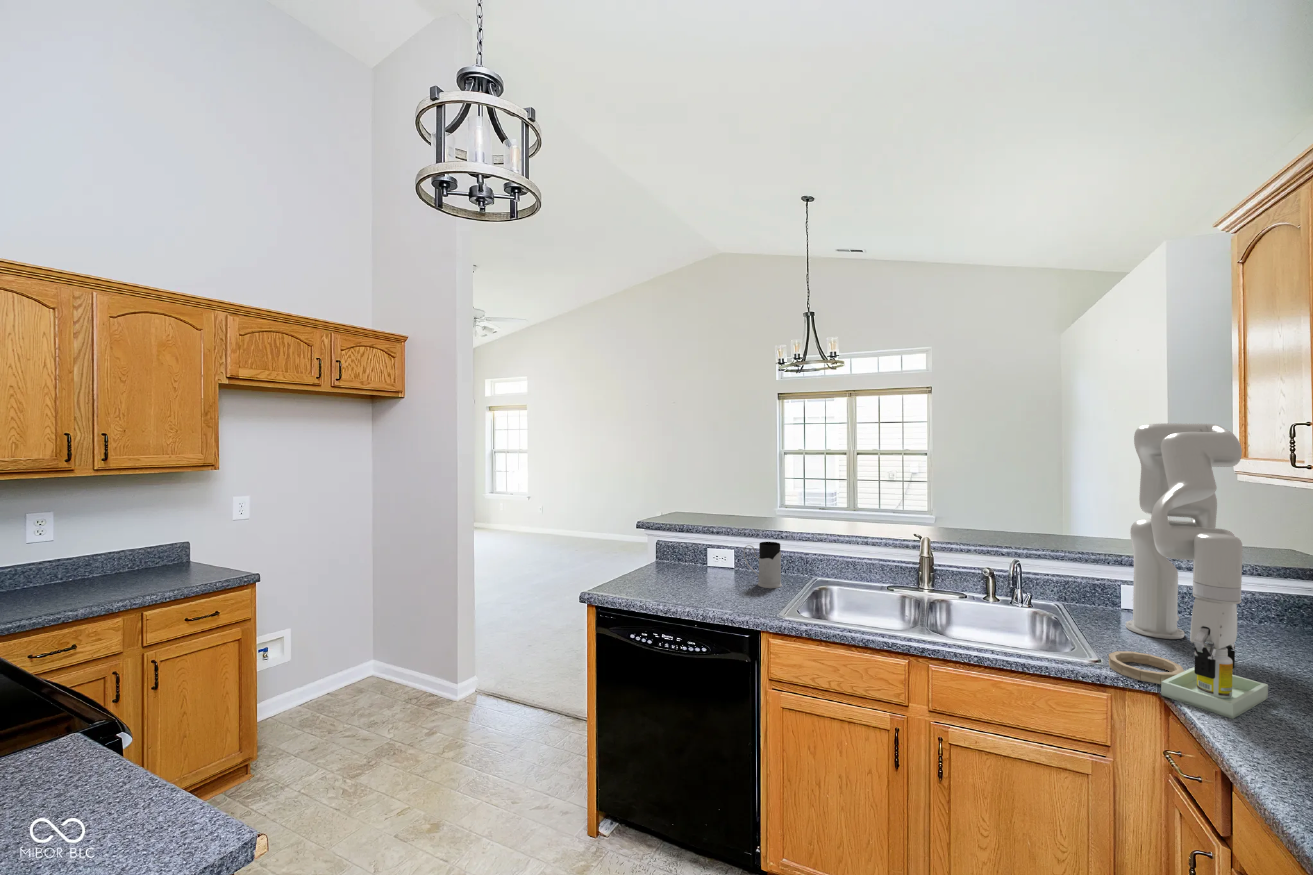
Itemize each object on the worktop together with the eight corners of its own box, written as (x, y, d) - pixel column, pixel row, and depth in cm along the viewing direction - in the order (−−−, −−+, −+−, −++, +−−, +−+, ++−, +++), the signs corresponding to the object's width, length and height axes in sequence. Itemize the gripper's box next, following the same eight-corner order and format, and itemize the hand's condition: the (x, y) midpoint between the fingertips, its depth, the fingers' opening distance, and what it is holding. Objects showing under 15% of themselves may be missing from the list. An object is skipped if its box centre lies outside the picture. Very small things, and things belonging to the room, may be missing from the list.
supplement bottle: (1231, 693, 127) (1232, 646, 127) (1232, 702, 123) (1233, 653, 123) (1196, 685, 131) (1197, 639, 131) (1196, 693, 127) (1197, 646, 127)
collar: (1125, 656, 149) (1126, 647, 149) (1193, 676, 137) (1194, 666, 137) (1098, 666, 142) (1098, 657, 142) (1166, 688, 131) (1167, 679, 131)
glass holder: (778, 589, 209) (778, 547, 208) (739, 584, 215) (740, 543, 215) (784, 583, 217) (784, 542, 216) (747, 578, 223) (747, 539, 222)
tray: (1197, 677, 136) (1198, 664, 136) (1267, 698, 126) (1268, 684, 126) (1161, 695, 128) (1161, 681, 128) (1232, 718, 118) (1233, 703, 117)
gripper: (1211, 582, 134) (1209, 657, 134) (1175, 593, 125) (1174, 673, 126) (1256, 590, 127) (1254, 669, 128) (1222, 602, 119) (1220, 687, 119)
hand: (1214, 671), depth 127 cm, fingers open, 9 cm apart
